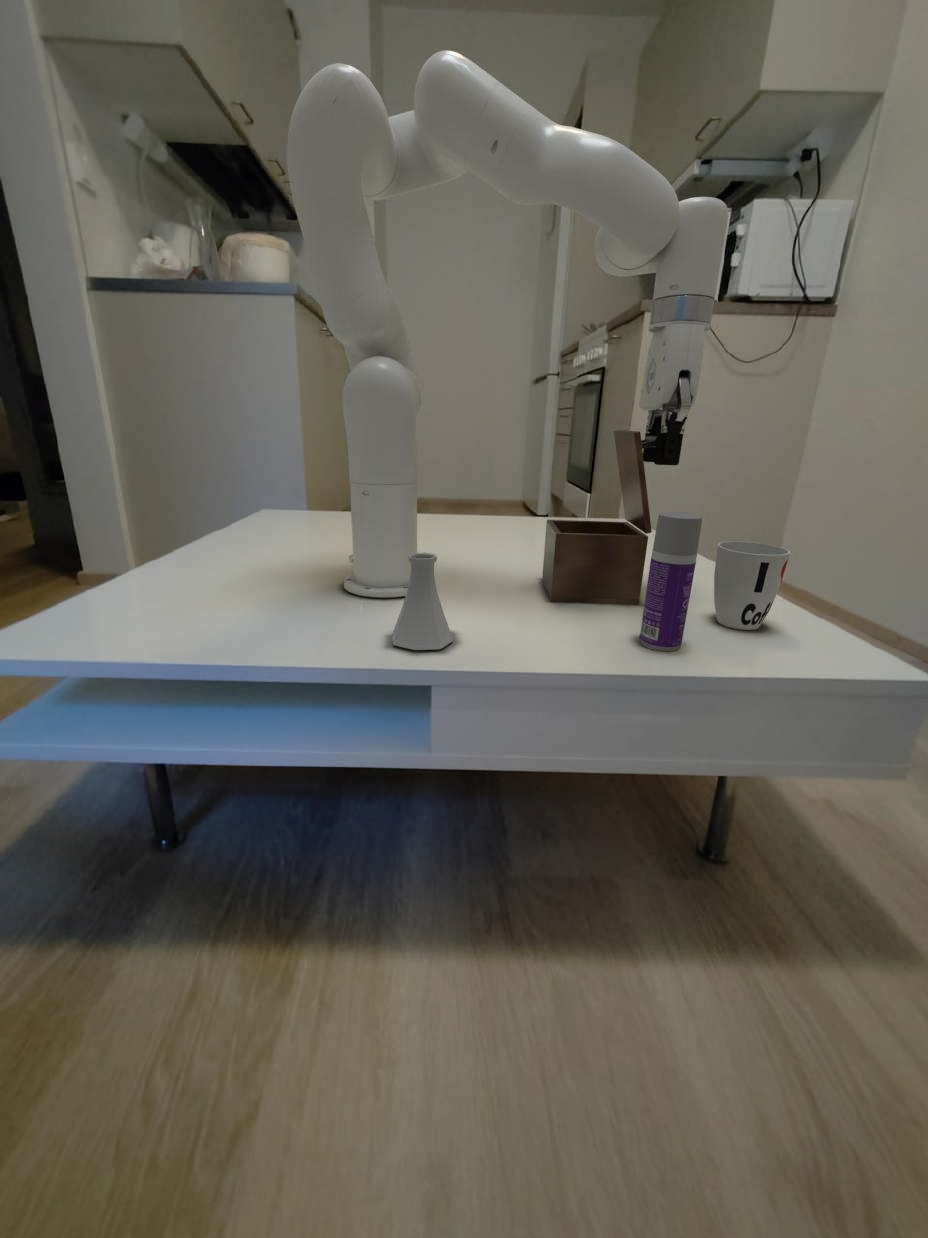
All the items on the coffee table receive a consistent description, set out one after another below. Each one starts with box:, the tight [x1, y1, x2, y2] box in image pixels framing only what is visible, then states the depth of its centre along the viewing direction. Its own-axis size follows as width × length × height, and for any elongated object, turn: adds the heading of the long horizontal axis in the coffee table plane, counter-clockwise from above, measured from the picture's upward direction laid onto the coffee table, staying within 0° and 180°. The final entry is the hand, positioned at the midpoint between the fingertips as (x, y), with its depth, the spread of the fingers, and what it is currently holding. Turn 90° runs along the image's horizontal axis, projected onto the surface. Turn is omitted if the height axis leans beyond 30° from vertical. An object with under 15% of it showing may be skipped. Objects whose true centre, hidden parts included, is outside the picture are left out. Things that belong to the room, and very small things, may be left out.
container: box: [638, 511, 703, 652], centre depth 61 cm, size 5×5×15 cm
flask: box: [391, 552, 454, 651], centre depth 61 cm, size 7×7×10 cm
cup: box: [713, 541, 791, 631], centre depth 70 cm, size 8×8×10 cm
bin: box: [541, 519, 649, 605], centre depth 82 cm, size 13×12×10 cm
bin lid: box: [613, 429, 658, 535], centre depth 77 cm, size 13×12×5 cm
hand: (659, 461), depth 77 cm, fingers closed on bin lid, 5 cm apart
